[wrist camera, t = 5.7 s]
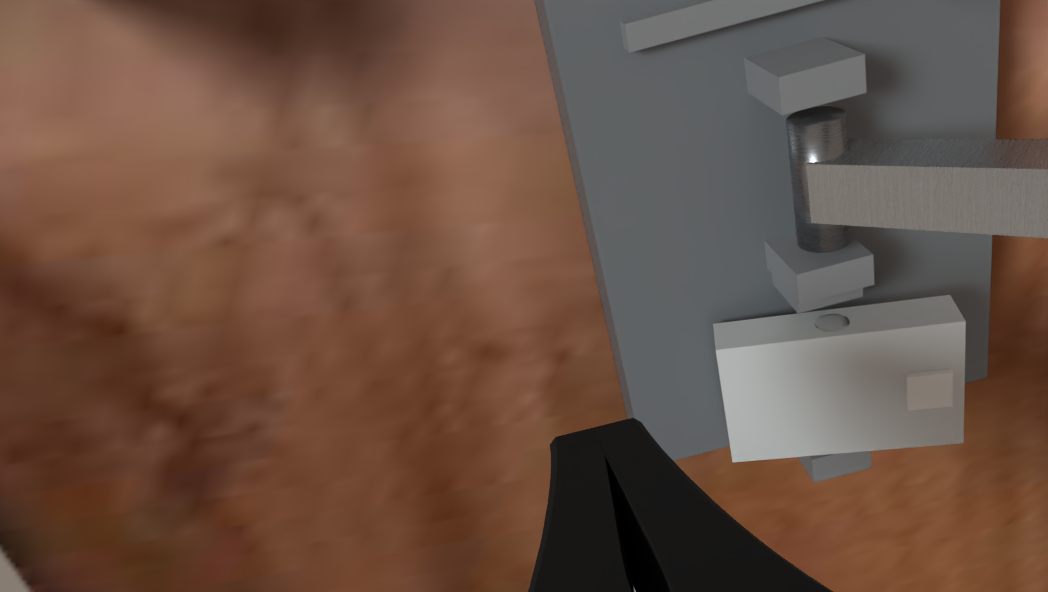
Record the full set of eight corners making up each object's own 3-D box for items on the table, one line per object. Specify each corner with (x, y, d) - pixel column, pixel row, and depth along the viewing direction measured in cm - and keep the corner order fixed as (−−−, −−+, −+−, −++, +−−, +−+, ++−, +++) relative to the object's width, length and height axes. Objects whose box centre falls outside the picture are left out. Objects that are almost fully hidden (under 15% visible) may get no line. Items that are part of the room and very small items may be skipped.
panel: (947, 358, 25) (1032, 436, 22) (632, 441, 26) (667, 533, 22) (951, -277, 18) (1084, -315, 14) (500, -154, 18) (520, -161, 14)
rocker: (949, 412, 22) (965, 446, 20) (729, 433, 23) (733, 465, 22) (950, 294, 20) (967, 324, 19) (713, 323, 21) (716, 353, 20)
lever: (815, 217, 20) (1192, 240, 16) (780, 261, 19) (1184, 298, 14) (805, 98, 19) (1216, 87, 14) (768, 136, 17) (1210, 135, 13)
